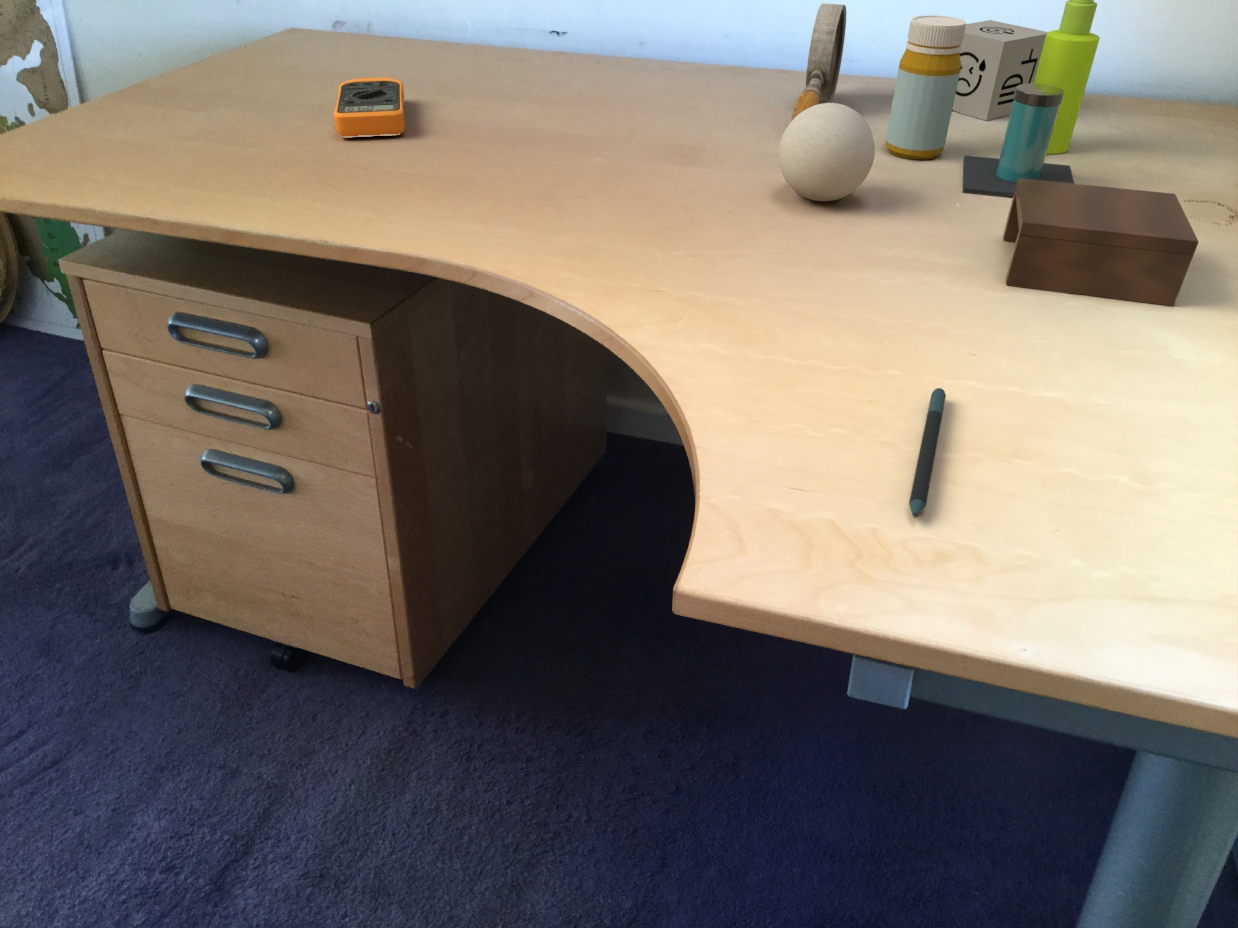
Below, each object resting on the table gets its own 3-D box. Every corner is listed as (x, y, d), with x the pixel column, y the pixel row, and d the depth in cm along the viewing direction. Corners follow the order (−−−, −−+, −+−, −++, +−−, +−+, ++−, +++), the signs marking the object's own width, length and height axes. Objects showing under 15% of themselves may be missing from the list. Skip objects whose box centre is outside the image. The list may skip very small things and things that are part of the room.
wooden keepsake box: (1153, 253, 92) (1175, 193, 88) (1173, 306, 82) (1199, 241, 79) (1002, 236, 95) (1017, 177, 91) (1005, 285, 86) (1022, 222, 82)
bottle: (873, 147, 118) (894, 17, 109) (918, 140, 120) (943, 13, 112) (907, 164, 113) (933, 29, 104) (954, 157, 115) (983, 24, 106)
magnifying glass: (814, 84, 114) (849, -13, 128) (789, 82, 115) (827, -14, 129) (807, 176, 124) (840, 77, 138) (784, 173, 125) (819, 75, 139)
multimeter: (405, 100, 134) (402, 75, 132) (406, 138, 120) (402, 110, 118) (343, 103, 132) (339, 77, 130) (337, 142, 118) (332, 114, 116)
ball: (764, 207, 101) (773, 111, 95) (785, 178, 108) (796, 88, 103) (857, 221, 98) (873, 123, 92) (873, 190, 106) (889, 97, 100)
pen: (904, 523, 58) (907, 508, 57) (930, 397, 70) (933, 383, 69) (921, 527, 57) (925, 512, 57) (945, 400, 69) (948, 386, 69)
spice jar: (1039, 171, 109) (1062, 85, 104) (1041, 185, 106) (1066, 97, 100) (994, 167, 111) (1015, 82, 105) (995, 181, 107) (1016, 93, 101)
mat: (1068, 169, 112) (1069, 165, 111) (1077, 204, 102) (1078, 200, 102) (963, 159, 114) (964, 155, 114) (962, 192, 105) (963, 188, 105)
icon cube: (1032, 109, 132) (1051, 33, 126) (986, 120, 128) (1004, 42, 122) (974, 93, 139) (990, 20, 133) (928, 103, 134) (943, 28, 128)
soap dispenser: (1061, 159, 115) (1112, -23, 103) (1009, 146, 119) (1053, -31, 107) (1084, 149, 118) (1137, -29, 106) (1033, 136, 122) (1078, -36, 110)
